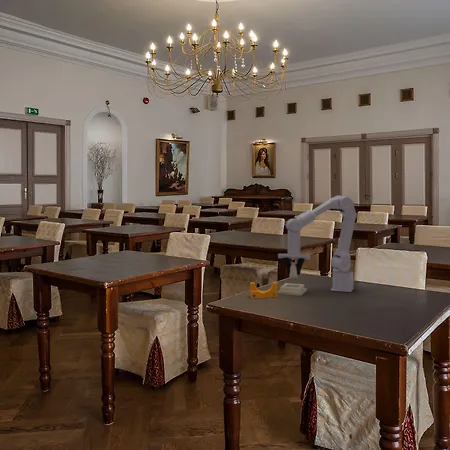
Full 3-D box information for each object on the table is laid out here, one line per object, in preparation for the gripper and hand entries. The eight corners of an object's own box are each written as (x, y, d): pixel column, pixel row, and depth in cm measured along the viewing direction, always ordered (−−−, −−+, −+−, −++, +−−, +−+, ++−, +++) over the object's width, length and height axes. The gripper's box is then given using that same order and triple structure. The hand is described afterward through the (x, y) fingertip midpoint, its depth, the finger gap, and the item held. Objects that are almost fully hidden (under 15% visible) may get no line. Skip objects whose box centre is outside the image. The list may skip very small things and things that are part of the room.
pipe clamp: (250, 298, 217) (250, 284, 217) (250, 296, 222) (250, 282, 221) (277, 298, 217) (277, 284, 216) (277, 296, 221) (277, 282, 221)
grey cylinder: (299, 277, 227) (299, 262, 227) (297, 279, 223) (297, 263, 223) (290, 277, 229) (290, 262, 228) (288, 278, 225) (288, 263, 224)
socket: (306, 290, 230) (306, 284, 230) (301, 295, 220) (301, 289, 220) (284, 288, 235) (284, 282, 234) (277, 293, 224) (277, 287, 224)
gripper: (276, 245, 224) (276, 275, 225) (307, 246, 218) (307, 277, 220) (280, 243, 230) (280, 272, 232) (311, 244, 225) (311, 274, 226)
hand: (293, 274), depth 226 cm, fingers closed on grey cylinder, 4 cm apart
